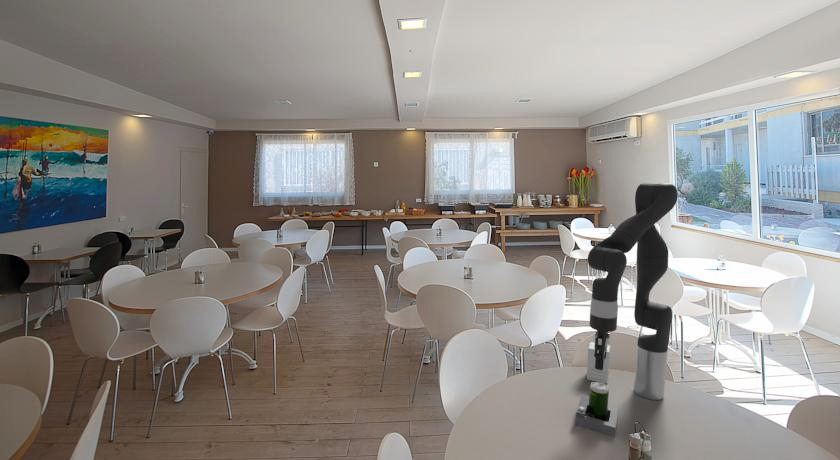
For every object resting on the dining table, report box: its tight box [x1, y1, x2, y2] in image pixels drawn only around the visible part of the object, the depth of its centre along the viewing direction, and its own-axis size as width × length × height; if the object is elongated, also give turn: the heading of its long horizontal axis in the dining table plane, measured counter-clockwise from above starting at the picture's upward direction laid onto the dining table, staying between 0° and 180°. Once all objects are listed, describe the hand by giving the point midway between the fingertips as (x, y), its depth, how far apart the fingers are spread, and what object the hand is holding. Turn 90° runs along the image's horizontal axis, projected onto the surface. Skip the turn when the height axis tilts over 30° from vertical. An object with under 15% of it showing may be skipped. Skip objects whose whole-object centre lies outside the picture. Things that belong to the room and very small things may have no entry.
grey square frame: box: [575, 395, 619, 438], centre depth 122 cm, size 11×11×5 cm
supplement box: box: [586, 341, 611, 385], centre depth 150 cm, size 7×7×13 cm
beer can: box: [587, 381, 610, 422], centre depth 122 cm, size 5×5×12 cm
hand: (600, 363), depth 120 cm, fingers open, 8 cm apart
